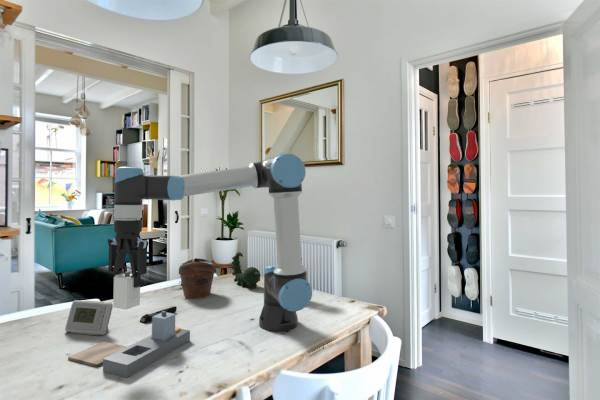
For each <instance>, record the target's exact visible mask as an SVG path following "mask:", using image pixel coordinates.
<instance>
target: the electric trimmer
mask: <svg viewBox="0 0 600 400" xmlns="http://www.w3.org/2000/svg"><path fill="white" fill-rule="evenodd" d="M162 311H166V312H167V313H173V314H175V313H176V312H177V306H176V305H175V306H171V307H168V308H164V309H161V310H158V311H155V312H151V313H145V314H144V315H142V316H141V317H140V320H139V323H141V324H148V322H150V321H151V322H152V317H153V316H155V315H157V314H160V313H162Z"/></svg>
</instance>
